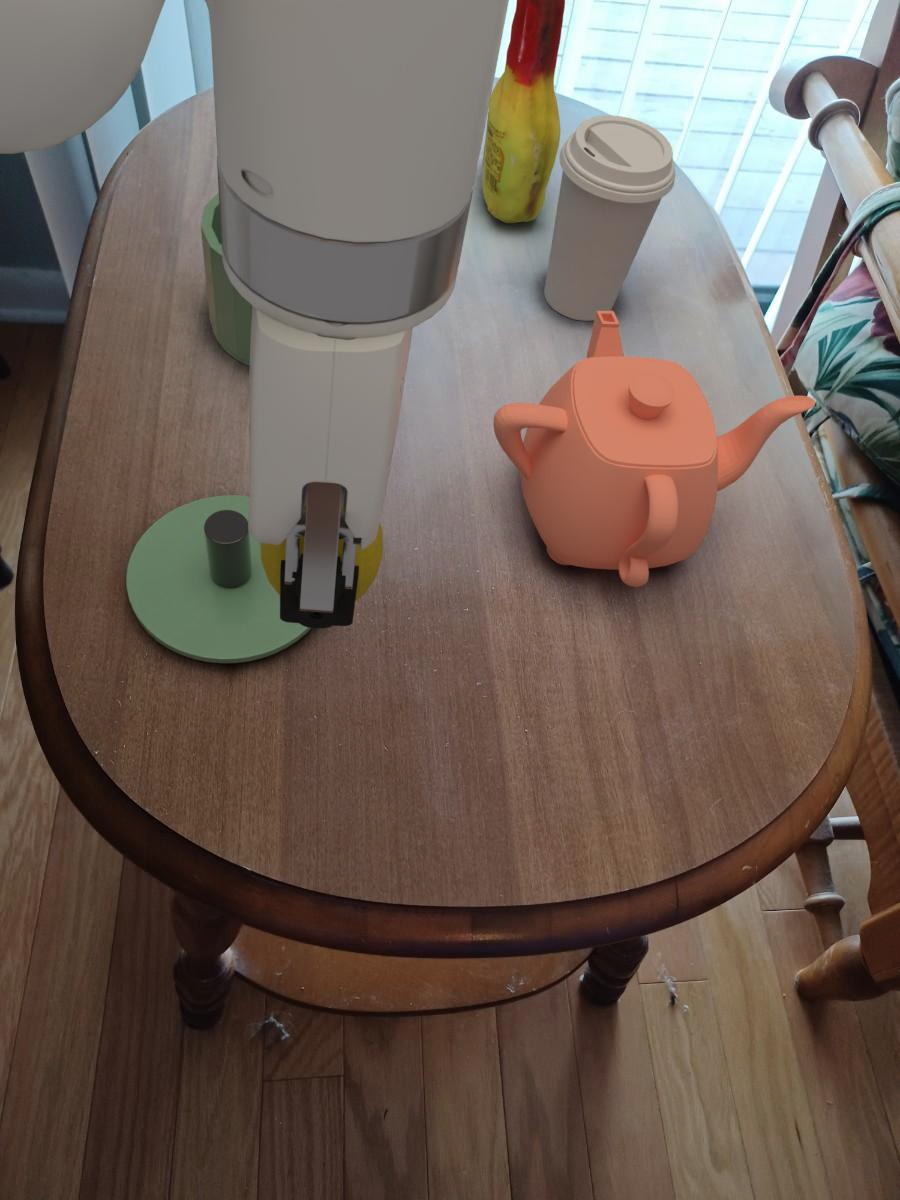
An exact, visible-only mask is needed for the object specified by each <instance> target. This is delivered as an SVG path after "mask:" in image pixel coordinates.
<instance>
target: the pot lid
mask: <svg viewBox="0 0 900 1200" xmlns="http://www.w3.org/2000/svg"><path fill="white" fill-rule="evenodd" d="M248 517H249V495H242V494H226V495H225V494H223V495H215V496H208V497H203V498H200V499H196V500H193V501H189V502H187V503H184V504H182V505H180V506H178V507H175V508H173V509H171V510H170V511H168V512H167V513H165V514H164V515H163V516H161V517H159V518H158V519H157V520H156V521H155V522H153V524H151V525H150V526H149V527H148V529H146V531H144V533H143V534H142V535H141V536H140V538H139V540H137V543H136V544H135V546H134V548H133V550H132V552H131V554H130V556H129V559H128V563H127V568H126V576H125V582H126V584H125V585H126V592H127V596H128V601H129V605H130V607H131V609H132V611H133V615H134V616H135V617H136V619H137V621H138V623H139V625H140V626H142V627H143V629H144V631H145V632H147V634H148V635H150V637H152V638H153V639H154V640H155V641H156V642H158V643H159V644H160V645H162V646H164V647H165V648H166V649H168V650H171V651H172V652H174V653H176V654H178V655H180V656H182V657H186V658H189V659H192V660H197V661H200V662H201V661H202V662H206V663H215V664H238V663H246V662H252V661H256V660H261V659H264V658H267V657H270V656H271V655H276V654H277V653H279V652H281V651H283V650H285V649H287V648H289V647H290V646H292V645H293V644H295V643H296V642H299V640H300V639H301V638H303V637H304V636H305V635H306V634H307V633H309V631H310V630H311V629H312V628H309V627H305V626H302V625H301V624H300V623H289V622H284V621H282V620H281V619H280V595H279V594H278V593H277V592H276V590H275V589H274V588H273V587H272V585H271V584H270V582H269V580H268V578H267V575H266V573H265V570H264V568H263V565H262V560H261V546H260V543H258V542H257V541H256V540H255V539H254V538H253V537H252V535H251V534H250V532H249V530H248Z"/></svg>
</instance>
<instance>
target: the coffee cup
mask: <svg viewBox="0 0 900 1200" xmlns="http://www.w3.org/2000/svg"><path fill="white" fill-rule="evenodd" d="M673 156H674V152H673V147H672V145H671V142H670V141H669V140H668V139H667V137H666V136H664V134H663V133H662V132H661V131H659V130H657V129H656V128H654V127H653V126H651V125H649V124H647V123H645V122H642V121H640V120H637V119H635V118H631V117H626V116H620V115H610V114H609V115H597V116H593V117H590V118H587V119H585V120H584V121H582V122H581V123H580V124H578V127H577V128H576V130H575V131H574V132H573V133H572V134H570V136H569V137H568V138H567V140H566V141H565V142H564V144H563V146H562V147H561V150H560V152H559V156H558V157H559V159H558V160H559V164H560V167H561V169H562V172H561V173H562V174H561V180H560V186H559V192H558V193H559V194H558V200H557V201H558V202H557V206H556V213H555V220H554V226H553V233H552V239H551V245H550V252H549V258H548V263H547V264H548V265H547V271H546V276H545V281H544V282H545V283H544V290H543V292H544V293H543V294H544V298H545V301H546V302H547V304H548V305H549V307H551V308H552V309H553V310H554V311H556V312H557V313H558V314H560V315H562V316H564V317H565V318H569V319H571V320H576V321H583V322H591V321H594V320H595V316H596V311H612V309H613V307H614V305H615V303H616V301H617V298H618V297H619V294H620V291H621V289H622V287H623V285H624V283H625V280H626V278H627V276H628V274H629V271H630V269H631V267H632V265H633V262H634V261H635V258H636V257H637V254H638V252H639V250H640V247H641V245H642V243H643V241H644V239H645V236H646V234H647V231H648V230H649V227H650V225H651V222H652V220H653V219H654V217H655V214H656V212H657V210H658V207H659V205H660V203H661V201H662V199H663V198H664V197H665V196H667V195H668V194H669V193H670V192H671V191H672V190H673V188H674V185H675V181H676V180H675V179H676V165H675V162H674V157H673Z"/></svg>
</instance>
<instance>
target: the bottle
mask: <svg viewBox="0 0 900 1200" xmlns="http://www.w3.org/2000/svg"><path fill="white" fill-rule="evenodd" d="M565 6H566V0H516V5H515V12H514V15H513V19H512V22H511V27H510V29H511V30H510V40H509V43H508V46H507V50H506V59H505V66H504V72H503V73H502V74H501V76H500V77H499V79H498V80H497V82H496V84H495V86H493V89H492V92H491V98H490V103H489V108H488V114H487V119H486V130H485V141H484V146H483V153H482V154H483V155H482V165H481V166H482V167H481V178H480V179H481V180H480V182H481V187H482V193H483V198H484V199H483V200H484V201H485V204H486V206H487V211H488V212H489V213H490V215H491V216H492V217H493V218H495V219H496V220H497V219H498V221H501V222H503V223H506V224H515V223H522V222H523V223H524V222H532V221H533V220H535V219H536V218H537V217H538V216H539V215H540V213H541V212H542V209H543V206H544V203H545V200H546V192H547V188H548V184H549V183H550V179H551V175H552V172H553V169H554V167H555V163H556V159H557V155H558V150H559V146H560V145H559V144H560V139H561V120H560V113H559V107H558V101H557V96H556V92H555V73H556V68H557V61H558V56H559V55H558V54H559V49H560V44H561V39H562V30H563V22H564V15H565Z"/></svg>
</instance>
